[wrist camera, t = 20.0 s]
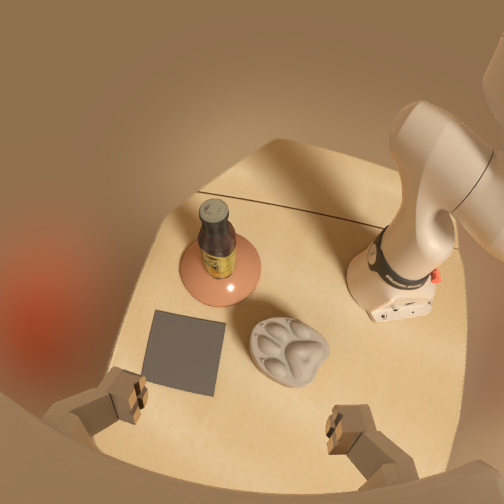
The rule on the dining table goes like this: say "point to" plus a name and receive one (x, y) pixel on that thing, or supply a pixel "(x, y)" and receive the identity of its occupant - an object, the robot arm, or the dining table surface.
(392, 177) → the dining table surface
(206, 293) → the terracotta plate
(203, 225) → the sauce bottle
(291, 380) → the lumpy-topped squat cylinder
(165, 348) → the rubber mat
